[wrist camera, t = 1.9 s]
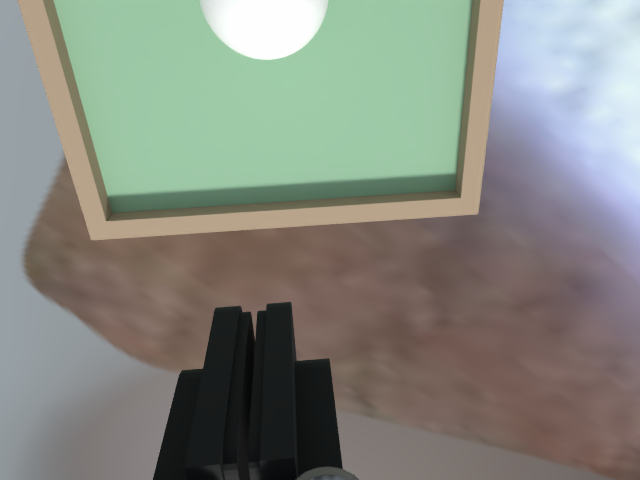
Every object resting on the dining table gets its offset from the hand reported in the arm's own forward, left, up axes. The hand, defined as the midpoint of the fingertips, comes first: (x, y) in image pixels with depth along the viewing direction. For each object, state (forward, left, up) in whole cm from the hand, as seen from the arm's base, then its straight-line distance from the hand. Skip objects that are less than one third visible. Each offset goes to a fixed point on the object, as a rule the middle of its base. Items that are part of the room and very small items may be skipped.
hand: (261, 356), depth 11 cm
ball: (0, -7, -13) cm, 14 cm away
